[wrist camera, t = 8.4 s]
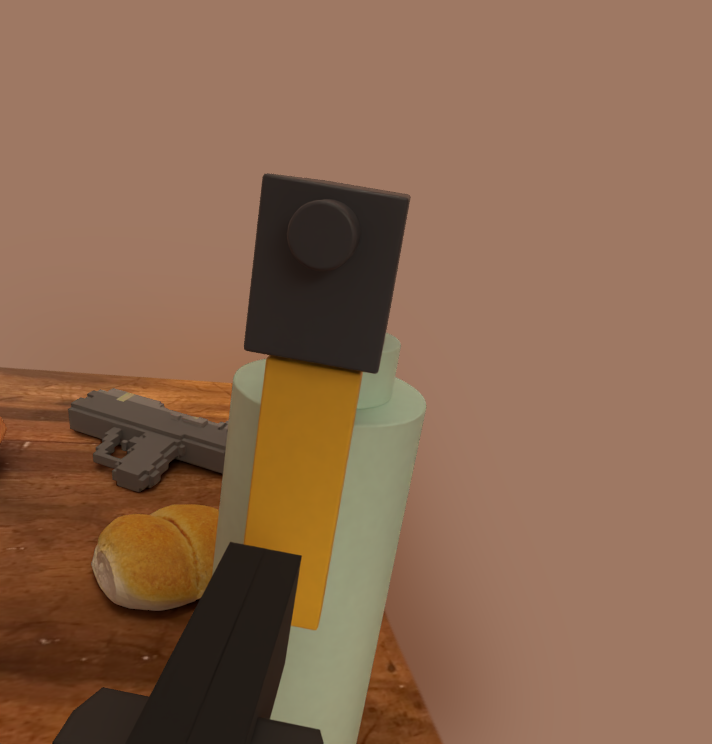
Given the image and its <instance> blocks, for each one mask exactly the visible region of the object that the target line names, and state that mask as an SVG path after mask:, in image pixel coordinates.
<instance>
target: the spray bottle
mask: <svg viewBox="0 0 712 744" xmlns="http://www.w3.org/2000/svg"><path fill="white" fill-rule="evenodd" d="M409 202H410V195H408V194H402V193H396V192H390V191H383V190H378V189H372V188H366V187H360V186H354V185H349V184H343V183H336V182H331V181H325V180H317V179H309V178H300V177H292V176H284V175H276V174H264V176H263V179H262V188H261V197H260V206H259V215H258V224H257V233H256V242H255V252H254V260H253V269H252V278H251V287H250V296H249V306H248V314H247V324H246V332H245V341H244V349H245V350H246V351H251V352H256V353H262V354H267V355H273V356H278V357H284V358H289V359H295V360H300V361H306V362H311V363H317V364H323V365H328V366H334V367H339V368H345V369H350V370H356V371H361V372H363V375H362V381H361V387H360V392H359V398H358V404H357V410H356V416H355V421H354V427H353V433H352V439H351V445H350V450H349V456H348V462H347V468H346V474H345V479H344V485H343V491H342V497H341V502H340V508H339V514H338V520H337V526H336V531H335V537H334V543H333V549H332V555H331V560H330V566H329V572H328V578H327V584H326V589H325V595H324V601H323V607H322V612H321V616H320V621H319V626H318V628H317V630H310V629H305V628H300V627H294V626H291V628H290V635H289V641H288V647H287V654H286V660H285V665H284V669H283V673H282V676H281V680H280V684H279V688H278V691H277V695H276V699H275V702H274V706H273V710H272V713H271V717H270V719H271V720H276V721H281V722H286V723H291V724H296V725H300V726H305V727H310V728H315V729H320V731H321V735H322V739H323V742H324V744H356V742H357V738H358V733H359V728H360V723H361V718H362V714H363V709H364V704H365V699H366V694H367V690H368V685H369V680H370V675H371V670H372V666H373V661H374V656H375V651H376V646H377V642H378V637H379V632H380V627H381V622H382V618H383V613H384V608H385V603H386V598H387V594H388V588H389V584H390V579H391V574H392V569H393V565H394V560H395V555H396V550H397V545H398V540H399V536H400V531H401V526H402V521H403V517H404V512H405V507H406V502H407V497H408V493H409V488H410V483H411V478H412V473H413V469H414V464H415V459H416V454H417V449H418V444H419V440H420V435H421V430H422V425H423V421H424V416H425V411H426V403H425V399H424V398H423V396H422V395H421V394H420V393H419V392H418V391H417V390H416V389H415V388H414V387H412V386H411V385H409V384H408V383H406V382H404V381H402V380H400V379H398V378H396V377H395V374H396V369H397V364H398V359H399V353H400V348H401V344H400V342H399V340H398V339H397V338H395V337H394V336H392V335H390V334H388V333H386V329H387V324H388V318H389V313H390V308H391V302H392V297H393V291H394V285H395V280H396V274H397V269H398V263H399V258H400V252H401V247H402V241H403V236H404V230H405V224H406V219H407V214H408V208H409ZM265 364H266V359H262V360H258V361H254V362H251V363H248V364H246V365H244V366H242V367H241V368H240V369H238V370H237V372H236V373H235V375H234V378H233V386H232V395H231V404H230V414H229V423H228V432H227V442H226V451H225V460H224V470H223V479H222V488H221V497H220V507H219V516H218V525H217V535H216V544H215V553H214V563H213V572H212V576H213V574H214V572H215V570H216V568H217V566H218V564H219V562H220V560H221V558H222V556H223V554H224V552H225V551H226V549H227V547H228V545H229V543H230V542H234V543H239V544H243V543H244V535H245V527H246V519H247V511H248V503H249V495H250V486H251V478H252V470H253V462H254V454H255V446H256V438H257V429H258V421H259V413H260V405H261V397H262V389H263V381H264V373H265Z"/></svg>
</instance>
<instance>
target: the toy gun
mask: <svg viewBox="0 0 712 744" xmlns="http://www.w3.org/2000/svg"><path fill="white" fill-rule="evenodd" d="M87 396H88V397H86V398H85V399H84V398H79V399H77V400H76V401H74V402H72V403H71V408H69V409H68V412H69V421H70V429H73V430H74V431H78V432H81V433H84V434H87V435H90V436H93V437H97V438H100V439H102V443H101V444H100V445H99V446H97V447H96V452H94V453H93V460H94V462H95V463H98V464H101V465H105V466H108V467H111V468H114V470H113V471H112V478H113V480H116V481H117V485H118V486H121V487H124V488H127V489H130V490H133V491H136V492H140V491H142V490H144V489H145V488H146V487H147V488H151V487H152V486H153V485H156V484H157V483H158V482H159V481H160V480H161V478H160V475H161V474H162V473H163V472H165V471H166V470H167V469H168V463H169V462H171V461H172V460H173V459H177V460H180V461H183V462H186V463H190V464H193V465H196V466H199V467H202V468H206V469H209V470H212V471H215V472H218V473H221V474H223V470H224V460H225V451H226V442H227V432H228V423H229V421H226V422H225V423H223V422H220V423H219V424H217V423H214V422H210V421H208V419H204V418H201V417H199V418H197V417H193V416H190V415H186V414H183V413H179V412H176V411H172V410H169V409H167V408H165V407H164V404H162V403H161V402H160V401H156V400H153V399H149V398H146V397H142V396H139V395H135V394H132V393H128V392H125V391H121V390H118V389H114V388H113V389H111V390H109V391H108V392H107V391H103V390H99V391H94V390H93V391H91V392H90V393H88V394H87ZM118 444H119V445H122V450H123V451H127V455H126V456H125V457H124V458H122V459H119V458H116V457H113V456H110V454H111V453H113V452H114V451H115V449H114V447H115V446H117V445H118Z"/></svg>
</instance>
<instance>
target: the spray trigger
mask: <svg viewBox="0 0 712 744" xmlns="http://www.w3.org/2000/svg"><path fill="white" fill-rule="evenodd" d="M362 375H363V372H361V371H356V370H350V369H345V368H339V367H334V366H328V365H323V364H317V363H311V362H306V361H300V360H295V359H289V358H284V357H278V356H273V355H269V357H268V358H267V359H266V364H265V373H264V381H263V389H262V397H261V405H260V413H259V421H258V429H257V438H256V446H255V454H254V462H253V470H252V478H251V486H250V495H249V503H248V511H247V519H246V527H245V535H244V543H243V544H244V545H250V546H255V547H260V548H265V549H270V550H275V551H281V552H286V553H291V554H296V555H301V556H302V558H301V564H300V571H299V577H298V584H297V590H296V596H295V603H294V609H293V615H292V622H291V626H294V627H300V628H305V629H310V630H317V628H318V626H319V621H320V616H321V612H322V607H323V601H324V595H325V589H326V584H327V578H328V572H329V566H330V560H331V555H332V549H333V543H334V537H335V531H336V526H337V520H338V514H339V508H340V502H341V497H342V491H343V485H344V479H345V474H346V468H347V462H348V456H349V450H350V445H351V439H352V433H353V427H354V421H355V416H356V410H357V404H358V398H359V392H360V387H361V381H362Z"/></svg>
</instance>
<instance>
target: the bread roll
mask: <svg viewBox="0 0 712 744" xmlns="http://www.w3.org/2000/svg"><path fill="white" fill-rule="evenodd" d="M218 516H219V510H217V509H215V508H212V507H209V506H203V505H194V504H188V505H171V506H168V507H164V508H162V509H159V510H157V511H155V512H154V513H152V514H150V515H146V514H131V515H124V516H121V517H119V518H116V519H115V520H114V521H113V522H111V523H110V524H109V525H108V526H107V527H106V528H105V529H104V530H103V531H102V532H101V534H100V536H99V538H98V544H97V546H96V548H95V551H94V556H93V560H92V562H91V565H92V568H93V572H94V574H95V576H96V579H97V582H98V584H99V586H100V588H101V589H102V590H103V592H104V593H105V594H106V596H107V597H108V598H109V599H110V600H111V601H112V602H114V603H115V604H117V605H120V606H123V607H126V608H130V609H141V610H152V611H161V610H167V609H172V608H176V607H180V606H183V605H185V604H188V603H191V602H194V601H196V600H197V599H200V598H201V597H202V595H203V593H204V591H205V589H206V587H207V585H208V583H209V581H210V579H211V577H212V572H213V563H214V553H215V544H216V535H217V525H218Z"/></svg>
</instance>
